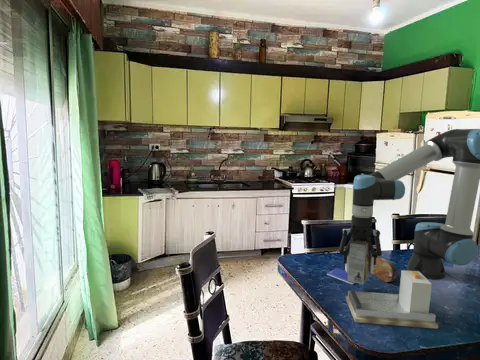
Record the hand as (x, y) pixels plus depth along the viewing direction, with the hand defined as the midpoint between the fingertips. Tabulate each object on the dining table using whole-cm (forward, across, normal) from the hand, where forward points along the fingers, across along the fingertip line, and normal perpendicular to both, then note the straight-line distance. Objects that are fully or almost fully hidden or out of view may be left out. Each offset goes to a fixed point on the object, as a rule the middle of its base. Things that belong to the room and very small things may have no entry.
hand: (358, 271), depth 133 cm
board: (+8, +7, -15) cm, 19 cm away
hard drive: (+9, -3, +13) cm, 16 cm away
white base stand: (+7, +7, -15) cm, 18 cm away
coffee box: (+3, 0, 0) cm, 3 cm away
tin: (+9, +13, +15) cm, 22 cm away
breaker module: (+7, +15, -15) cm, 22 cm away
